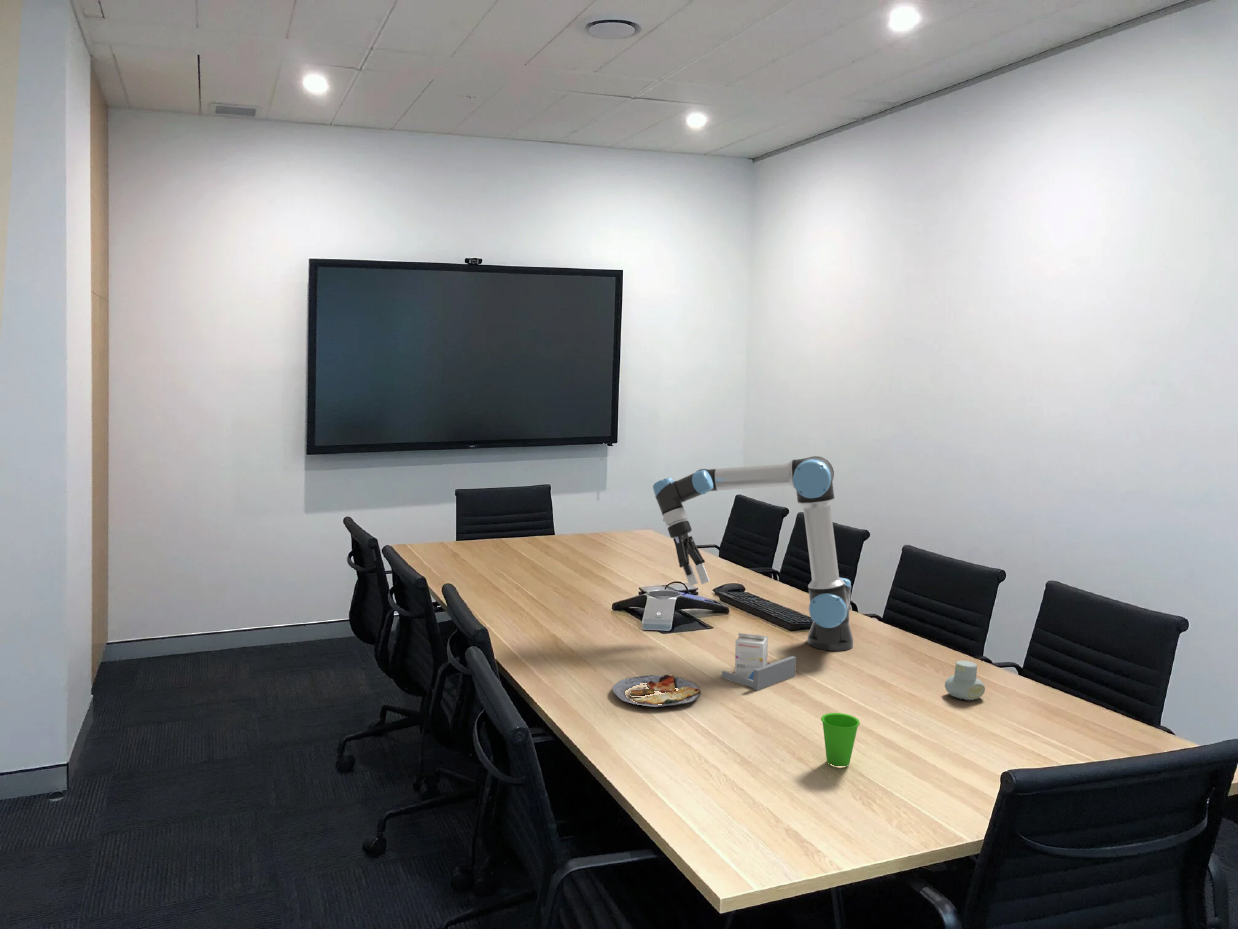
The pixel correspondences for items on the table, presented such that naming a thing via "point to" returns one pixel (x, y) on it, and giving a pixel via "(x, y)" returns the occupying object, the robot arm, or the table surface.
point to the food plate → (658, 683)
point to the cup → (839, 737)
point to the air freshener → (965, 682)
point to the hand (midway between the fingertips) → (699, 583)
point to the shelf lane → (766, 674)
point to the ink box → (750, 654)
